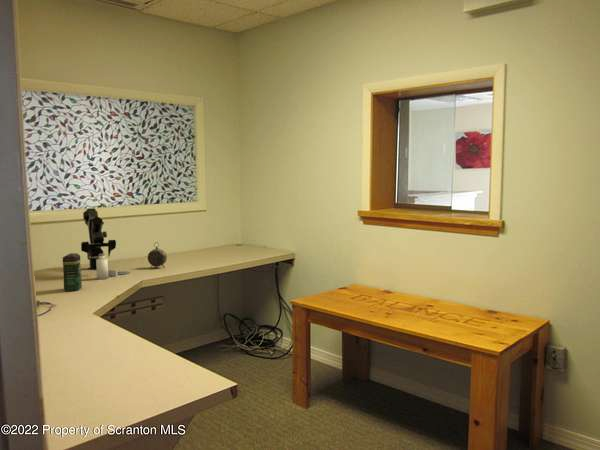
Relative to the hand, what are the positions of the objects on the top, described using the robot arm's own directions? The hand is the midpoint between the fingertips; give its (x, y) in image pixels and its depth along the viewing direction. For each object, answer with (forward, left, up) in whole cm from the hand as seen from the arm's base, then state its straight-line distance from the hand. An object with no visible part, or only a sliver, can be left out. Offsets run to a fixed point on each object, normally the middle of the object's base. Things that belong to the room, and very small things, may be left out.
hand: (100, 256), depth 294 cm
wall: (+2, +5, -12) cm, 13 cm away
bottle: (+4, -3, -12) cm, 13 cm away
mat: (+3, +12, -12) cm, 17 cm away
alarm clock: (+10, +34, -12) cm, 38 cm away
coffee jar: (+12, -29, -12) cm, 33 cm away
